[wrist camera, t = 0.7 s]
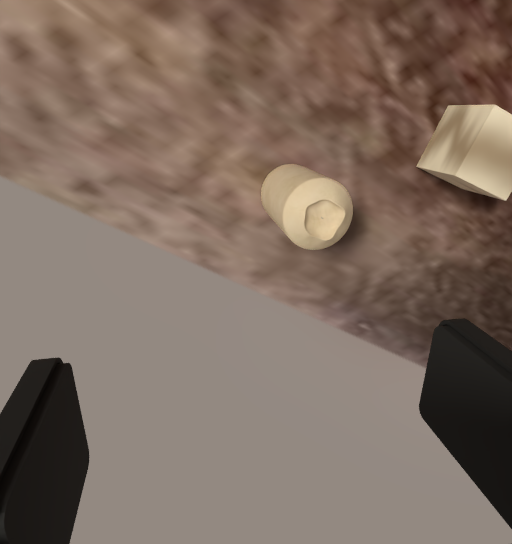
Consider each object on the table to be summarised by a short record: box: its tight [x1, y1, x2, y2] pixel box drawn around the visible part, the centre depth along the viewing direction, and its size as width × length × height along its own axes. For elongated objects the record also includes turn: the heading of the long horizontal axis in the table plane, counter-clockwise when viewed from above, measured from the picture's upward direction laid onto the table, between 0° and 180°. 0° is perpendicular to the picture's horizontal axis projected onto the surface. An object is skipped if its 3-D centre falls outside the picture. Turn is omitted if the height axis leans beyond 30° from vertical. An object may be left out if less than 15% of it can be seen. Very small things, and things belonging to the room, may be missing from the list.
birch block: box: [416, 105, 512, 201], centre depth 36 cm, size 6×6×6 cm
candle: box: [261, 164, 353, 250], centre depth 33 cm, size 6×6×10 cm
